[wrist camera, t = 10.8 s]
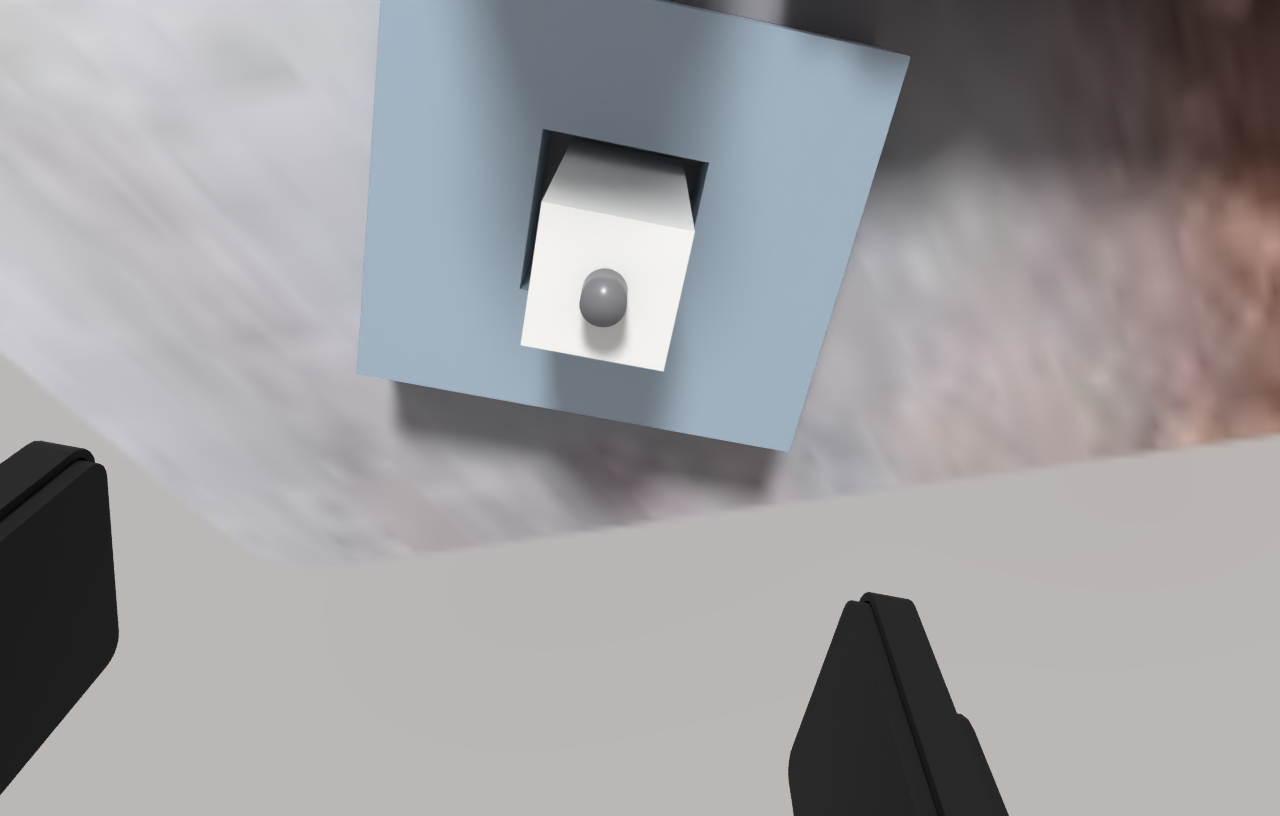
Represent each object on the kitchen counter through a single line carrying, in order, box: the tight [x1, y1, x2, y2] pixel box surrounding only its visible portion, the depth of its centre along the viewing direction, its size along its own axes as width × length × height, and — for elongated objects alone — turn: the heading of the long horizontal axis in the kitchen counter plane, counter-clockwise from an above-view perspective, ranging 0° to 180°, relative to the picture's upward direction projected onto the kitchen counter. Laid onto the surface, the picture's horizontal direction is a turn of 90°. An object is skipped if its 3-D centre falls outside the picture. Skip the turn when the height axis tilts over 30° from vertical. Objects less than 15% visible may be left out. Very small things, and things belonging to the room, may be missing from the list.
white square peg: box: [521, 138, 695, 372], centre depth 28 cm, size 4×4×11 cm
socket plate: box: [357, 0, 911, 452], centre depth 32 cm, size 16×14×4 cm
